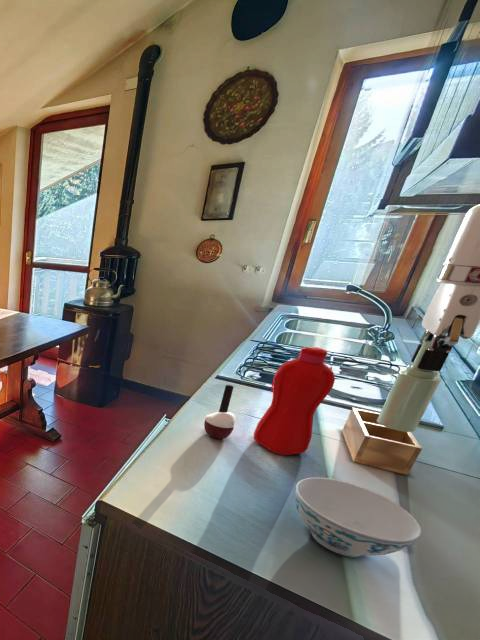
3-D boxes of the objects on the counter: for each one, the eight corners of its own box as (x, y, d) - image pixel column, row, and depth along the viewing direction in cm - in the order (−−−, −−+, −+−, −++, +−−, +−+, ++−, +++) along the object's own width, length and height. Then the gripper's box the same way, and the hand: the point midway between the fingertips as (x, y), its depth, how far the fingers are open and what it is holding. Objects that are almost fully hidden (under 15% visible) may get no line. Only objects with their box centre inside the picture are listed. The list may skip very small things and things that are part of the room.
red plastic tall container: (270, 431, 101) (305, 338, 91) (312, 455, 91) (355, 353, 81) (239, 434, 99) (271, 340, 89) (278, 458, 89) (318, 356, 79)
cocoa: (219, 445, 94) (233, 401, 89) (194, 434, 99) (205, 391, 94) (239, 435, 99) (253, 392, 94) (214, 424, 104) (226, 383, 99)
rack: (388, 441, 96) (401, 417, 94) (407, 475, 84) (422, 448, 81) (341, 431, 101) (352, 407, 98) (353, 461, 88) (365, 435, 86)
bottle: (410, 423, 86) (452, 341, 79) (418, 434, 82) (464, 349, 74) (373, 416, 90) (410, 336, 82) (379, 426, 85) (419, 344, 78)
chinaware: (426, 575, 60) (451, 538, 57) (337, 581, 59) (357, 543, 56) (335, 508, 74) (351, 475, 71) (261, 512, 73) (274, 479, 70)
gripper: (522, 282, 65) (467, 383, 72) (480, 271, 77) (437, 358, 84) (455, 279, 69) (410, 375, 76) (426, 269, 81) (389, 352, 88)
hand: (425, 365), depth 80 cm, fingers closed on bottle, 3 cm apart
